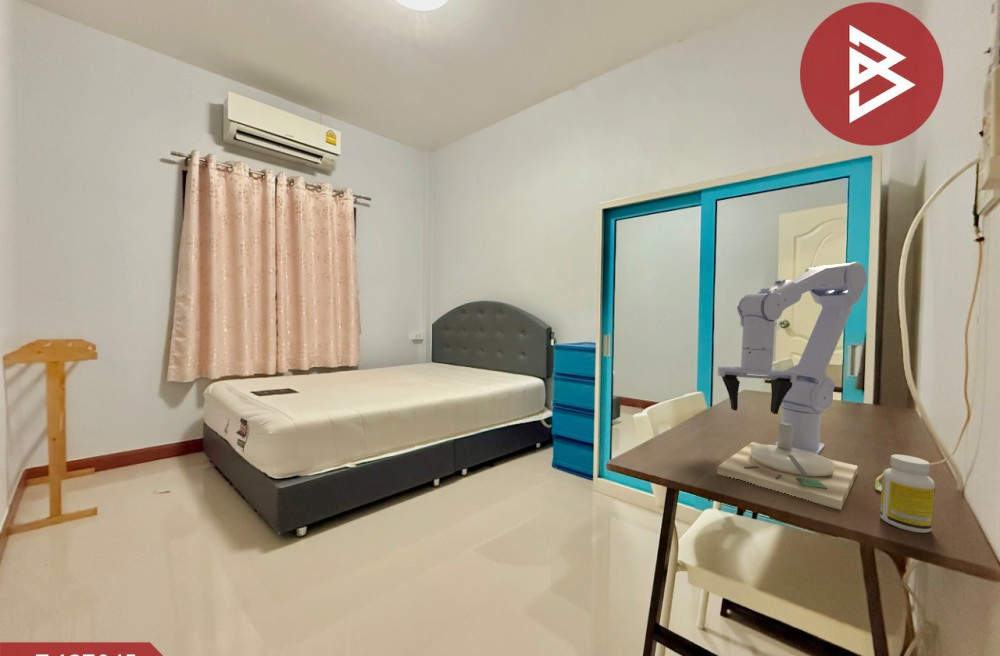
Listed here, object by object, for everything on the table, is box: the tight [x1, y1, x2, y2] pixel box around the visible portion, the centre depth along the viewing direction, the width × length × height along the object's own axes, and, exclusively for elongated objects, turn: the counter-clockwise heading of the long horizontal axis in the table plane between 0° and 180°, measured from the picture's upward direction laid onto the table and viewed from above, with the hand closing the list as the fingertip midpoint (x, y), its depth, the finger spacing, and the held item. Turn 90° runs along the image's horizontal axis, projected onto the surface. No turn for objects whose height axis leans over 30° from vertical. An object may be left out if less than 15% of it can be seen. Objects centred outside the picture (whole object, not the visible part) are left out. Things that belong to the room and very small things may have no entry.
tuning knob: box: [751, 421, 834, 478], centre depth 75 cm, size 18×13×6 cm
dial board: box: [716, 441, 858, 511], centre depth 77 cm, size 22×18×2 cm
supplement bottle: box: [879, 453, 936, 534], centre depth 59 cm, size 5×5×10 cm
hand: (753, 411), depth 87 cm, fingers open, 7 cm apart
